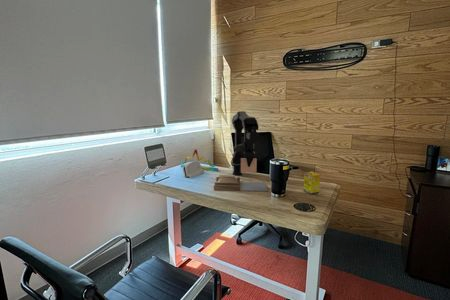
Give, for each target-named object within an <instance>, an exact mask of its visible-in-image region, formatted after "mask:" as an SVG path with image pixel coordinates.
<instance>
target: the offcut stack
mask: <svg viewBox="0 0 450 300" xmlns="http://www.w3.org/2000/svg"><path fill="white" fill-rule="evenodd" d="M218 177H219V180H218V181H217V182H225V183H239V182H238V180H237V176H236V175H233V174H219V176H218Z"/></svg>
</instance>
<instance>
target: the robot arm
mask: <svg viewBox="0 0 450 300" xmlns="http://www.w3.org/2000/svg"><path fill="white" fill-rule="evenodd" d="M231 124H232V127H233V129H234V147H233V149H234V152H233V154H232V158H231V160H230V166H231V167H233V169H232V175H235V176H243V173H241V158H246V159H247V165H248V167H250V165H251V163H252V161H253V158H256V152H255V143H257V142H258V141H260V138H261V137H260V136H261V135H260V134H259V132H258V130H259V128H260V127H259V123H258V121H257V119H256V117H255V116H249V115H248V114H247V112H246V111H242V110H241V111H239V110H238V111H237V112H236V114H234V115H233V116H232V119H231ZM243 132H244V133H243ZM243 138H244V139H243ZM242 151H243V152H242Z"/></svg>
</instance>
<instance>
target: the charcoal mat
mask: <svg viewBox="0 0 450 300" xmlns="http://www.w3.org/2000/svg"><path fill="white" fill-rule="evenodd" d="M241 186H242V191H243V192H268V191H269V190H268V188H267V184H266V182H262V181H261V182H259V181H258V182H257V181H256V182H254V181H252V182H249V181H248V182H247V181H245V182H244V181H242V185H241Z"/></svg>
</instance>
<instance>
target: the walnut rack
mask: <svg viewBox="0 0 450 300" xmlns="http://www.w3.org/2000/svg"><path fill="white" fill-rule="evenodd" d="M236 177H237V176H236ZM215 180H216V181H215V182H214V185H213V191H241V183H240V182H241V178H240V177H239V176H238V177H237V180H238V183H225V182H218V180H219V176H216V178H215Z"/></svg>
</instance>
